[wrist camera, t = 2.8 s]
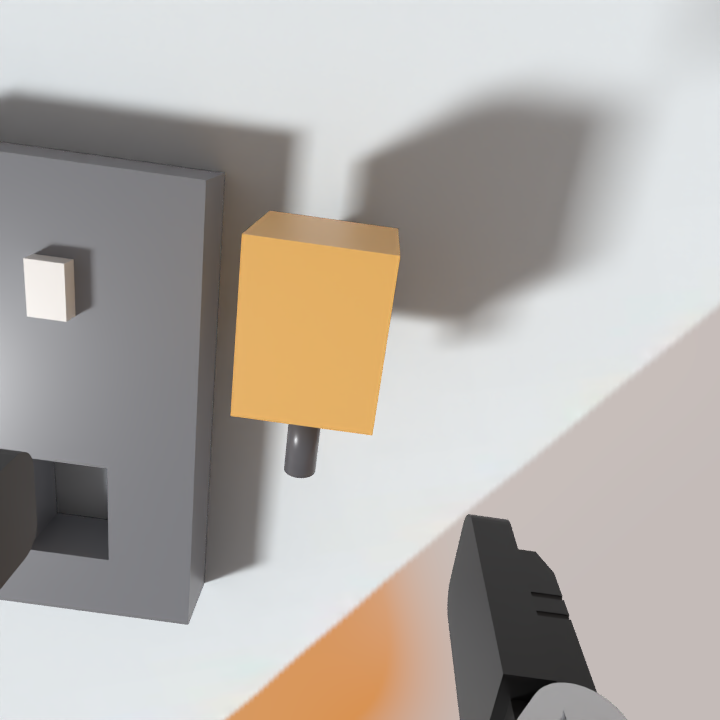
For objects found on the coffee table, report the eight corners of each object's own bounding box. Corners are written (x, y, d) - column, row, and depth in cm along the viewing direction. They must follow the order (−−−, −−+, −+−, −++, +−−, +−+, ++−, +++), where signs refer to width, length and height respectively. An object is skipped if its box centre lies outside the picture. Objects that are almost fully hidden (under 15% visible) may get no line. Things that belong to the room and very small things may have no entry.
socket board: (-57, 133, 27) (-125, 137, 23) (224, 173, 27) (200, 182, 23) (-13, 554, 35) (-58, 604, 31) (204, 583, 35) (183, 636, 31)
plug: (281, 200, 27) (241, 233, 20) (397, 216, 27) (400, 255, 20) (265, 391, 31) (226, 481, 23) (368, 405, 31) (361, 500, 23)
